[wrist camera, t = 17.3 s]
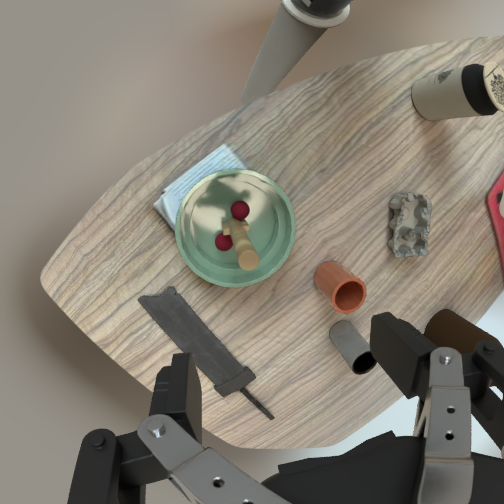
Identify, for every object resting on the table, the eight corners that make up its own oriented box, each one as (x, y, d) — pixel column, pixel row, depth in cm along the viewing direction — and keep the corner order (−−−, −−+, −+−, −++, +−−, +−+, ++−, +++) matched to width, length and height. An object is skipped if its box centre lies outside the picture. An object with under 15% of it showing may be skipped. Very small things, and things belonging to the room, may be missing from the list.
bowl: (172, 178, 40) (165, 179, 34) (278, 163, 41) (289, 162, 36) (190, 279, 44) (187, 295, 38) (289, 263, 46) (300, 277, 40)
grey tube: (348, 341, 51) (373, 373, 41) (326, 342, 51) (348, 376, 41) (354, 319, 50) (381, 350, 40) (332, 320, 49) (356, 352, 40)
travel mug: (447, 113, 42) (518, 106, 25) (423, 127, 42) (499, 121, 25) (429, 75, 40) (498, 56, 22) (403, 86, 40) (476, 65, 23)
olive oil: (438, 300, 52) (521, 359, 28) (461, 312, 55) (534, 365, 31) (413, 343, 54) (484, 413, 31) (438, 351, 57) (503, 412, 33)
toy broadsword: (170, 273, 44) (168, 278, 42) (287, 407, 53) (289, 413, 52) (136, 299, 44) (133, 303, 42) (257, 423, 54) (258, 430, 52)
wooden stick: (220, 219, 42) (227, 253, 25) (244, 215, 42) (267, 247, 25) (222, 231, 42) (230, 274, 25) (246, 227, 43) (270, 267, 26)
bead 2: (241, 193, 40) (228, 202, 39) (255, 205, 40) (243, 215, 39) (237, 205, 43) (225, 214, 41) (250, 216, 42) (238, 226, 41)
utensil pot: (312, 263, 46) (331, 282, 38) (343, 258, 47) (366, 274, 39) (314, 295, 48) (332, 317, 40) (344, 288, 48) (366, 308, 40)
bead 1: (210, 234, 42) (221, 228, 40) (225, 238, 44) (236, 231, 42) (211, 252, 41) (222, 246, 39) (226, 254, 43) (237, 249, 41)
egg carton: (388, 191, 45) (402, 193, 41) (421, 193, 46) (435, 195, 42) (384, 253, 47) (396, 260, 44) (416, 251, 48) (430, 257, 44)
